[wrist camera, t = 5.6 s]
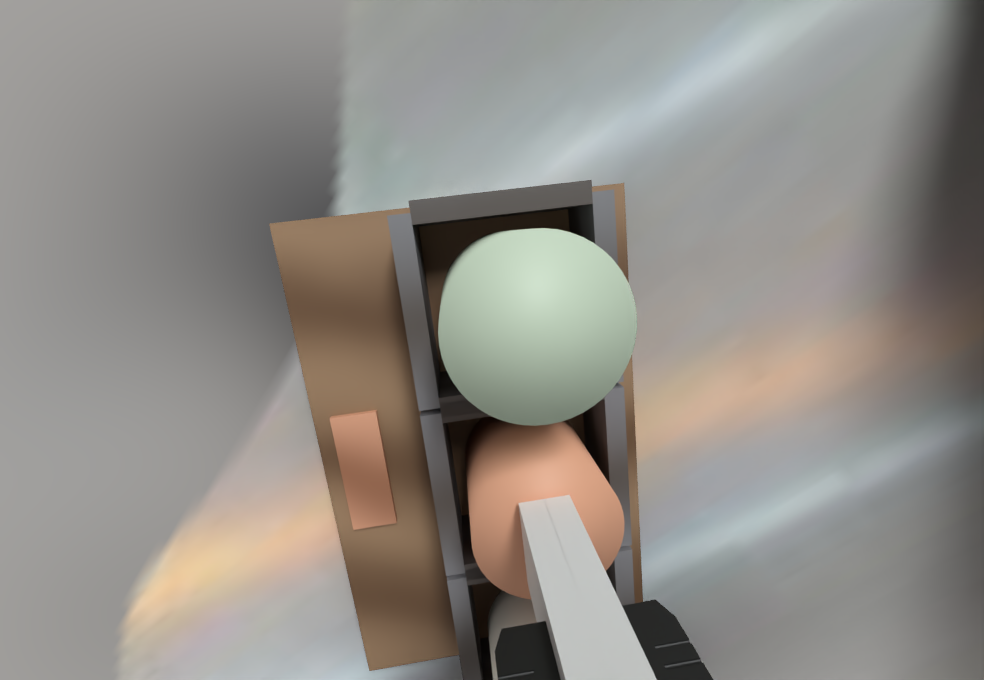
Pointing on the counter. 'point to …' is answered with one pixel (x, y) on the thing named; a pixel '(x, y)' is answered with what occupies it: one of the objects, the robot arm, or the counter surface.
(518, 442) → the button terracotta
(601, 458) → the wooden compartment tray
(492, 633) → the button ivory
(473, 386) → the pale green rounded cylinder
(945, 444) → the counter surface
